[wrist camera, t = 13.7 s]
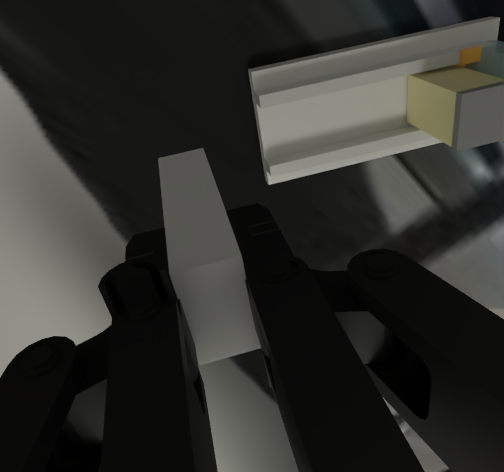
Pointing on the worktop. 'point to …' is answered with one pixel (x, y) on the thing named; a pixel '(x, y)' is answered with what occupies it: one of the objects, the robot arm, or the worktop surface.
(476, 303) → the robot arm
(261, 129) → the grey channel fixture
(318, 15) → the worktop surface
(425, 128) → the grey-capped yellow block
